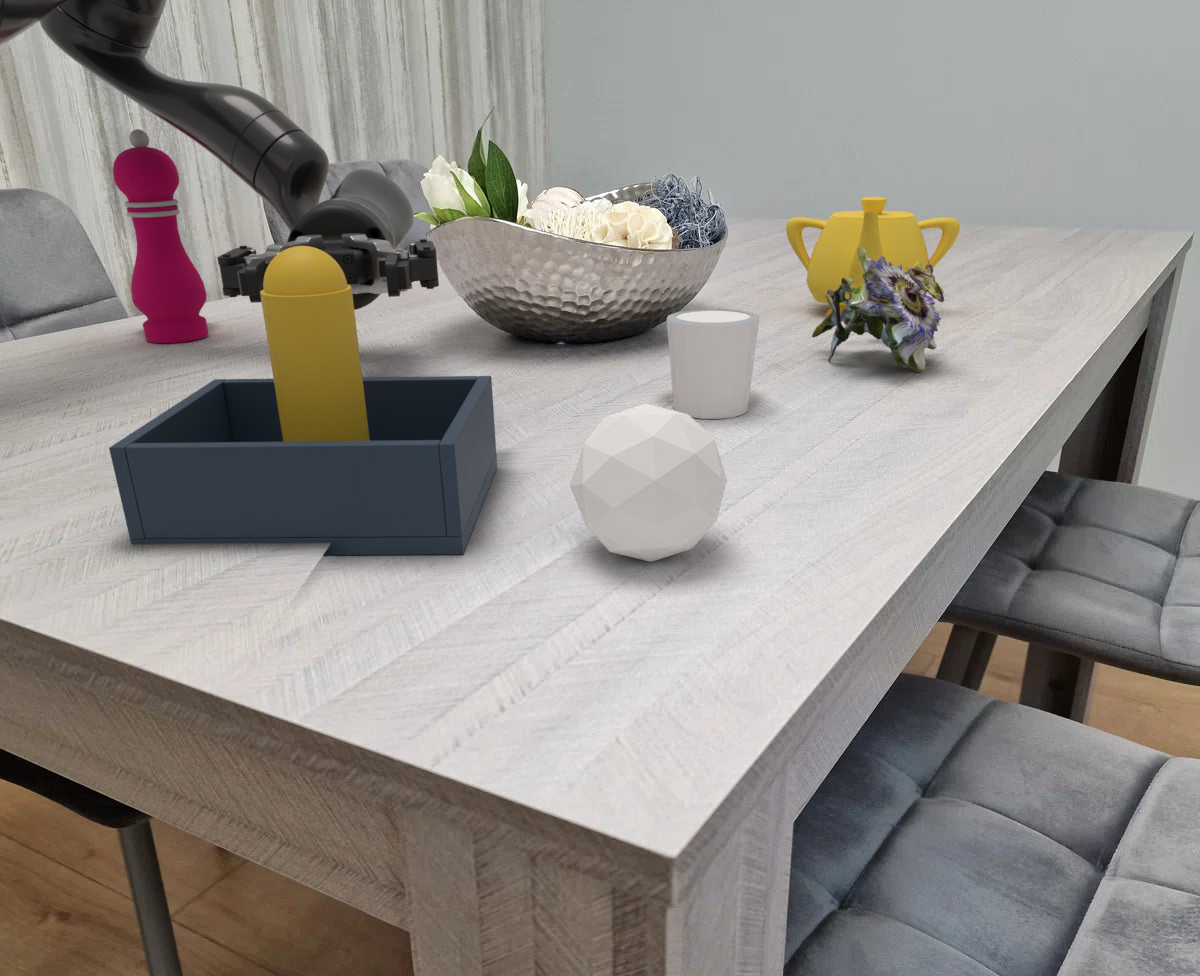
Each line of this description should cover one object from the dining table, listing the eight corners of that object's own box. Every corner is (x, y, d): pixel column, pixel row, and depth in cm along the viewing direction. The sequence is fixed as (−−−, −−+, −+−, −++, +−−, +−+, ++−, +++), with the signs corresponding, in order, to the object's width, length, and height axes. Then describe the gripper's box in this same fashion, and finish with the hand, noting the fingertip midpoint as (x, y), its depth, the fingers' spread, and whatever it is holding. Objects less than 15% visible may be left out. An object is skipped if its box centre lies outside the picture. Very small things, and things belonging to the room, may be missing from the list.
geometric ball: (666, 583, 57) (739, 456, 57) (683, 594, 49) (767, 446, 49) (545, 515, 57) (618, 386, 56) (543, 514, 49) (627, 364, 48)
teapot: (770, 311, 116) (775, 198, 111) (862, 297, 123) (870, 190, 118) (861, 330, 106) (871, 205, 101) (956, 313, 113) (970, 196, 107)
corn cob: (278, 505, 59) (237, 253, 53) (303, 477, 63) (268, 241, 58) (366, 505, 59) (334, 251, 53) (385, 476, 63) (358, 239, 57)
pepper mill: (161, 347, 105) (117, 130, 96) (128, 339, 109) (83, 130, 101) (226, 336, 110) (190, 127, 101) (192, 328, 114) (155, 128, 106)
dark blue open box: (133, 556, 55) (108, 447, 53) (230, 469, 68) (214, 379, 66) (463, 554, 54) (454, 443, 52) (497, 467, 68) (491, 375, 65)
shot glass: (679, 395, 83) (680, 305, 80) (764, 400, 81) (768, 309, 78) (654, 417, 78) (654, 322, 75) (745, 424, 75) (749, 326, 72)
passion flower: (907, 431, 92) (929, 336, 81) (789, 398, 95) (796, 303, 84) (944, 339, 96) (970, 238, 86) (830, 310, 99) (842, 209, 89)
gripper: (441, 298, 82) (442, 337, 68) (256, 306, 80) (215, 348, 66) (433, 196, 79) (432, 215, 64) (239, 202, 77) (193, 223, 63)
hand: (322, 282), depth 65 cm, fingers open, 8 cm apart
